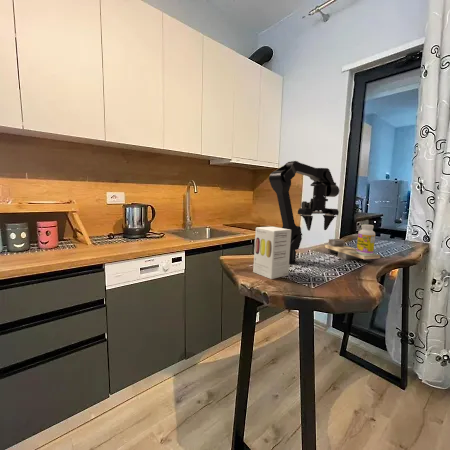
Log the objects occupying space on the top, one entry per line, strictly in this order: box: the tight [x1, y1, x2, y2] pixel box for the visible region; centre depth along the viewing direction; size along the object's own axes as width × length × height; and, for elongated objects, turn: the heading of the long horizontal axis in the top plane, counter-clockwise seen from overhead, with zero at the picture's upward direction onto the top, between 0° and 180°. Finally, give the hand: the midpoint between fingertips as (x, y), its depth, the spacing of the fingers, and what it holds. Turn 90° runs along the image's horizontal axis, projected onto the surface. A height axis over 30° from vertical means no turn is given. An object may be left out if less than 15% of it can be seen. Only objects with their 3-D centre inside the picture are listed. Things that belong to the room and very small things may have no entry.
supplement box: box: [252, 226, 291, 280], centre depth 92 cm, size 10×9×17 cm
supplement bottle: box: [356, 223, 376, 255], centre depth 113 cm, size 7×7×13 cm
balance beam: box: [324, 238, 381, 261], centre depth 121 cm, size 24×10×7 cm, turn 19°
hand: (317, 230), depth 118 cm, fingers open, 9 cm apart
